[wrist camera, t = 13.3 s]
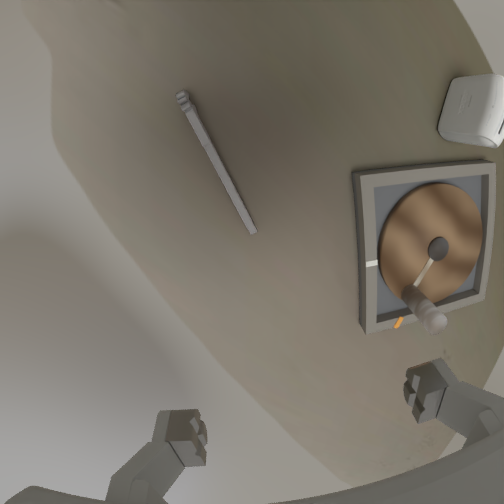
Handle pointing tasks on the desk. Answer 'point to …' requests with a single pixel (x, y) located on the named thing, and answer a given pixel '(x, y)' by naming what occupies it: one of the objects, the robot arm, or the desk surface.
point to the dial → (429, 248)
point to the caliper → (214, 158)
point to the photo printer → (474, 111)
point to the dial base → (376, 212)
